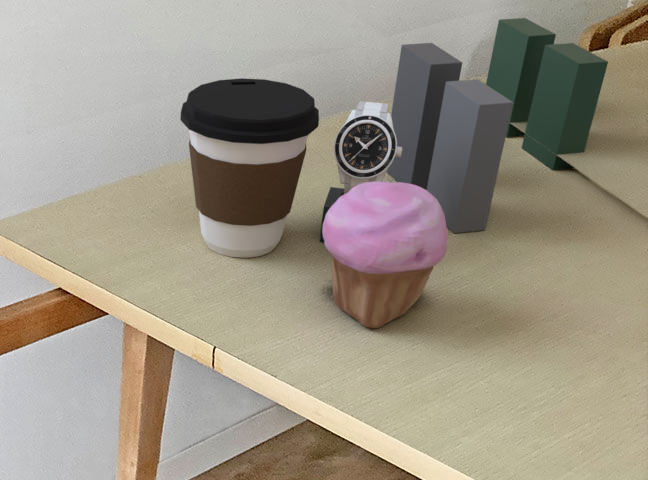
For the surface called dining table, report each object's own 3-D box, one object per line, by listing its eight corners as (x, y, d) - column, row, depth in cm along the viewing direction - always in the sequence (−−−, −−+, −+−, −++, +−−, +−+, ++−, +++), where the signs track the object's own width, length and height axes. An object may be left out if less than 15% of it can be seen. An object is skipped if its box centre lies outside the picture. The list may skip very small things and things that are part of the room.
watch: (316, 251, 90) (331, 119, 83) (329, 213, 96) (344, 87, 89) (383, 259, 89) (405, 126, 82) (392, 220, 95) (413, 93, 88)
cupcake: (292, 301, 83) (305, 175, 77) (380, 276, 87) (400, 154, 80) (364, 353, 77) (385, 221, 71) (456, 324, 81) (484, 196, 74)
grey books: (485, 230, 94) (514, 95, 86) (453, 233, 93) (481, 98, 86) (411, 166, 105) (432, 42, 98) (382, 168, 104) (401, 44, 97)
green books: (580, 167, 105) (608, 61, 99) (552, 170, 104) (579, 63, 98) (504, 115, 116) (525, 17, 110) (478, 118, 116) (498, 19, 110)
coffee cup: (169, 216, 95) (173, 77, 88) (291, 213, 96) (305, 74, 88) (184, 273, 87) (189, 124, 79) (318, 269, 87) (335, 121, 80)
